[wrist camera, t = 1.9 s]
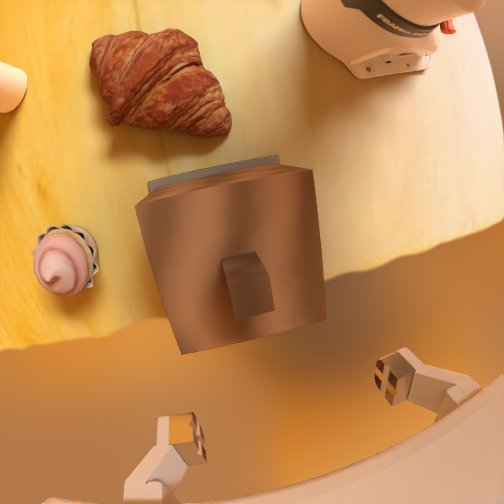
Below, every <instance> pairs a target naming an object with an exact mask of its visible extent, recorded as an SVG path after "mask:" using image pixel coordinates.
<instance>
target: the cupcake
mask: <svg viewBox="0 0 504 504" xmlns="http://www.w3.org/2000/svg"><path fill="white" fill-rule="evenodd" d="M37 241H38V247H37V248H36V249H35V250H34V251H33V255H34V260H33V267H34V273H35V275H36V277H37V279H38V281H39V283H40V284H41V286H42V287H44V288H45V289H46V290H48V291H51V292H52V293H54V294H56V295H59V296H63V297H68V296H73V295H77V296H80V295H81V294H82V291H83V289H84V288H91V287H93V275H95V274H96V273H97V272H98V270H99V268H98V265H97V262H96V261H97V256H98V248H97V244H96V242H95V240H94V238H93V236H92V235H91V234H90V233H89V232H88V231H87V230H86V229H84V228H82V227H79V226H70V225H68V224H63V225H62V226H60V227H59V226H55V225H51V226H49V227H48V228H47V231H46V233H44V234H40V235H38V238H37Z"/></svg>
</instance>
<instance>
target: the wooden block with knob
mask: <svg viewBox="0 0 504 504" xmlns="http://www.w3.org/2000/svg"><path fill="white" fill-rule="evenodd" d="M135 209H136V213H137V217H138V221H139V225H140V228H141V232H142V236H143V239H144V243H145V246H146V250H147V253H148V257H149V260H150V264H151V267H152V270H153V273H154V277H155V280H156V283H157V286H158V289H159V292H160V295H161V298H162V301H163V304H164V307H165V310H166V313H167V316H168V319H169V322H170V324H171V327H172V330H173V333H174V335H175V338H176V341H177V343H178V346H179V348H180V351H181V354H182V355H183V354H188V353H193V352H198V351H203V350H207V349H212V348H217V347H222V346H226V345H231V344H235V343H240V342H244V341H248V340H252V339H256V338H260V337H264V336H268V335H272V334H276V333H280V332H284V331H287V330H291V329H295V328H298V327H302V326H305V325H309V324H312V323H316V322H319V321H322V320H326V308H325V291H324V277H323V264H322V252H321V241H320V231H319V221H318V212H317V203H316V195H315V187H314V179H313V172H312V170H310V169H304V168H298V167H291V166H285V165H278V164H267V165H261V166H256V167H250V168H245V169H239V170H234V171H229V172H224V173H219V174H214V175H209V176H204V177H200V178H195V179H191V180H186V181H182V182H178V183H173V184H169V185H165V186H161V187H157V188H156V189H154V190H153V191H152V192H151V193H150V194H149V195H147V196H146V197H145V198H144V199H143V200H142V201H140V202H139V203H138V204H137V205H136V206H135Z"/></svg>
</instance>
